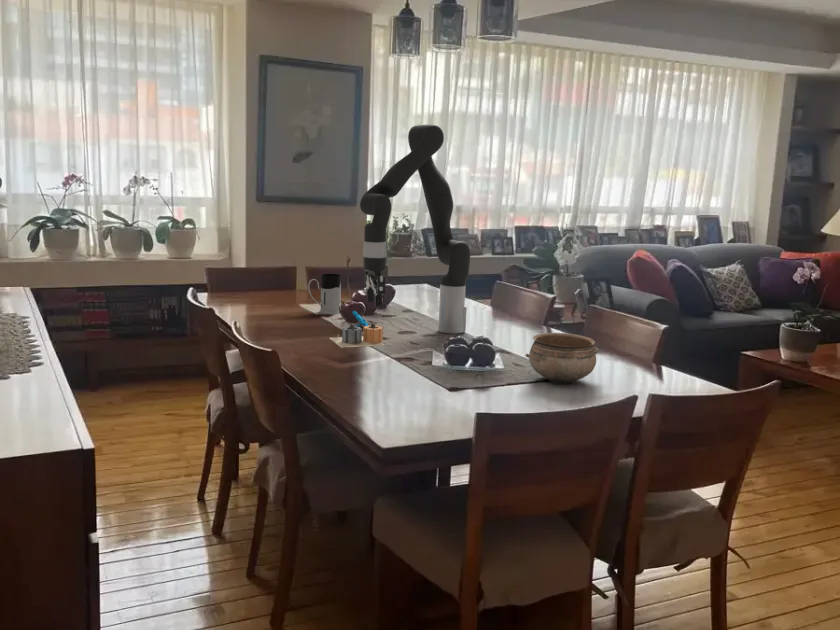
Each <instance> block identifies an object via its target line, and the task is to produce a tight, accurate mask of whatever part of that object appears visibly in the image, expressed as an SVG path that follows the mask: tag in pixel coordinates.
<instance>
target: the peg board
mask: <svg viewBox="0 0 840 630" xmlns="http://www.w3.org/2000/svg"><path fill="white" fill-rule="evenodd" d="M370 325H371V328H372V329H375V326H376V323H375V322H371V323H370ZM355 326H356V325H355V324H354V323H350V324H349V327H350V329H353V330H354V329H355ZM329 339H330V340H331V341H332V342H333V343H335V344H336V345H337V346H338V347H339V348H342V349H343V348H356V347H357V348H358V347H360V348H362V347H378V346H379V347H380V346H385V344H384V343H383V342H378V343H372V342H371V343H368V342H366V341H363V335H362V342H360V343H358V344H356V343H355V344H349V343H343V342H342V336H340V337H339V336H338V337H329Z"/></svg>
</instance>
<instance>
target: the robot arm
mask: <svg viewBox="0 0 840 630" xmlns="http://www.w3.org/2000/svg"><path fill="white" fill-rule="evenodd" d="M407 140H408V141H407V142H408V147H409V149H410V151H409V153H408V154H406V155H405V156H404V157H403V158H401V159H400V160H398V161H396V163H394V164H393V165H392V166H391V167H390V168H389V169H388V170H387V172H386V173H385V174H384V175H383V177H382V178H381V179H380V181H378V182H377V183H376V184H374V185H373V186H372V187H371V188H369V189H368V190H367V191H366V192H364V194H363V195H362V197H361V199H360V201H359V207H360V210H361V212H362V213H363V214H365V215H368V216H373V217H372V221H371V222H368V223H366V224H365V226H364V235H363V237H364V241H363V253H362V254H363V256H362V257H363V260H362V261H363V265H362V268H363V270H364V279H363V281H364V282H363V283H364V285H363V287H364V289H365V291H366V302H367V303H374V306H375V307H376V308H380V307H382V306H383V296H384V295H385V294H386V276H385V275H382V272H383V271H386V270H387V251H388V250H387V242H386V241H387V228H388V223H389V220H390V217H391V212H392V202H391V198H394V197H396V196H397V195H398V194H399V193H400V191H401V190H402V189H403V188H404V186H405V185H406V184H407V182H408V181H409V180H410V178H411V177H412V176H413V175H414V174H415V173H416V172H417V171H418V175H419V178H420V182H421V186H422V189H423V193H424V198H425V204H426V206H427V210H428V213H429V218H430V221H431V225H432V226H431V227H432V230H433V236H434V243H435V250H436V251H435V252H436V255H437V258H438V260H439V261H440V262H441V263H442V264H443V265H446V266H448V271H447V273H446V274H444V275H442V276H441V277H440V282H439V283H440V284H439V304H438V321H437V322H438V323H437V325H438V326H437V332H440V333H444V334H462V333H466V326H467V325H466V324H467V309H468V307H467V306H466V305H465V303H466V285H467V284H466V283H467V280H468V277H469V272H470V265H471V264H470V263H471V262H470V261H471V251H470V249H471V248H470V247H469V245H468V244H467V243H466V242H464V241H460V240H455V239H454V237H453V233H452V230H451V228H452V227H451V220H452V219H451V218H452V215H453V211H454V198H453V196H452V195H453V194H452V190H451V187H450V185H449V183H448V181H447V180H446V178H445V177H444V175H443V174H442V173H441V171H440V170H439V169H438V167H437V165H435V162H434V159H433V155H435V154H436V153H437V152H438V151H439V150H440V149H441V147H442V146H443V144H444V140H445V136H444V132H443V130H442V128H441V127H440V126H439V125H437V124H417V125H414V126H412V127H411V128H410V129H409V131H408V134H407Z"/></svg>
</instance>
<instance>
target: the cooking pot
mask: <svg viewBox="0 0 840 630" xmlns="http://www.w3.org/2000/svg"><path fill="white" fill-rule="evenodd" d="M532 339H533V340H534V341H533V343H532V345H531V347H530V350H529V353H525V355H524V356H525V357H526V358H528V360H529V362H530V363H529V364H530V366H531V367H532V369H533V370H534V371H535V372H536V373H538V374H539V375H540V376H541V377H543V378H545V379H547V380H548V381H549V382H550V383H553V384H557V385H570V384H572V383H575V382H577V381H580V380H582V379H584V378H585V377H587V376H589V375H590V374H591V373H592V372H593V370H594V369H595V367H596V365H597V354H598V353H599V348H598V347H594V345H595V344H596V341H595V340H594V339H593V338H590V337H587V336H584V335H580V334H573V333H567V332H566V333H564V332H545V333H538V334H535V335H533V336H532Z"/></svg>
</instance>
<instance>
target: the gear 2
mask: <svg viewBox="0 0 840 630" xmlns="http://www.w3.org/2000/svg"><path fill="white" fill-rule="evenodd" d="M383 334H384V327H383V326H380V325H375V329H372V328H371V324H370V326H364V325H363V327H362V336H363V341H366V342H368V343H371V342H372V343H378V342H381V343H383V340H384V339H383V338H384V337H383V336H384V335H383Z"/></svg>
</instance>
